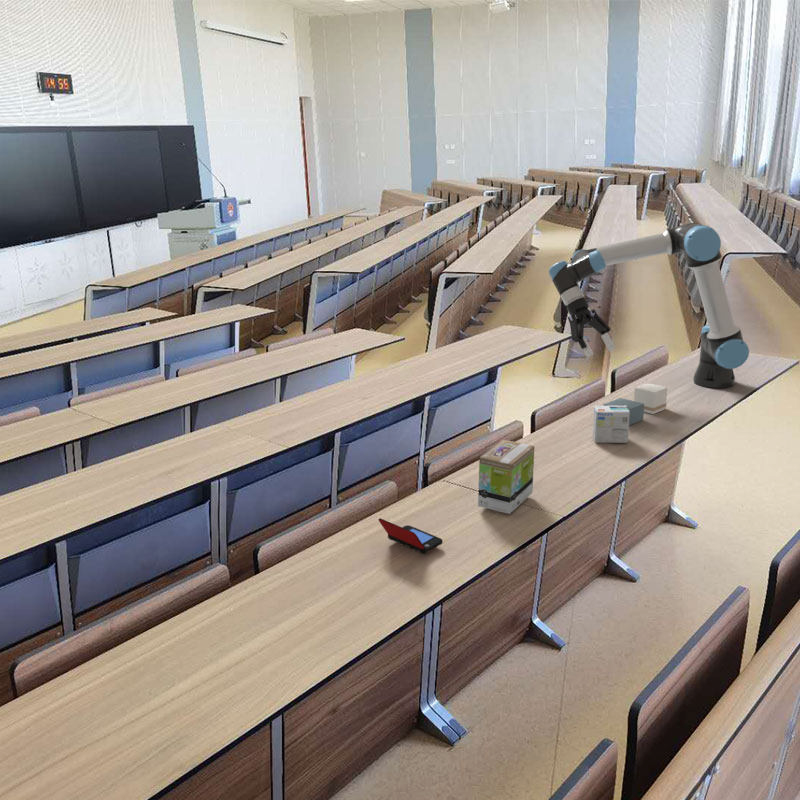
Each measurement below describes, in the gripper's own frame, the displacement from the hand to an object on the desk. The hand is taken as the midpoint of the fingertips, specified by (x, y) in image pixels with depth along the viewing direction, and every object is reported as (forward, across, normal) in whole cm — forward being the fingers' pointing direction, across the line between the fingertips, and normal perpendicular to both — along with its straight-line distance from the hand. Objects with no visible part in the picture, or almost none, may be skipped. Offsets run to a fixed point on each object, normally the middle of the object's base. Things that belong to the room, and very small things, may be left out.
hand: (601, 352), depth 280 cm
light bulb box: (+30, +26, +5) cm, 40 cm away
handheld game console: (+36, +118, +7) cm, 123 cm away
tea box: (+35, +83, +9) cm, 91 cm away
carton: (+25, -9, +1) cm, 27 cm away
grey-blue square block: (+25, +7, 0) cm, 26 cm away
